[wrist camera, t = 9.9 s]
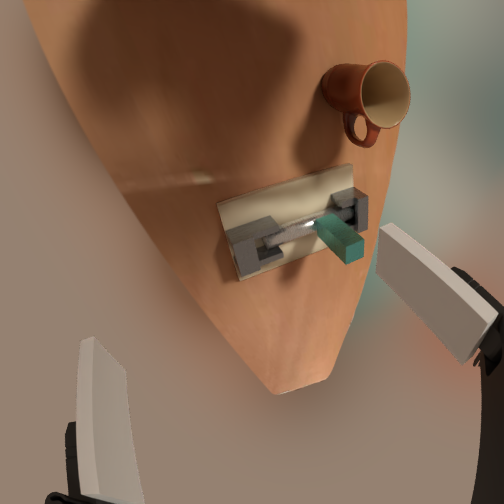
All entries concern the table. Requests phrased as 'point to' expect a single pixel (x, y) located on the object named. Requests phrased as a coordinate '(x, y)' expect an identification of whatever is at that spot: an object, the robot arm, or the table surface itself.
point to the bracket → (253, 245)
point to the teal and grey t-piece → (323, 232)
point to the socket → (359, 206)
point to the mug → (368, 97)
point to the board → (287, 209)
